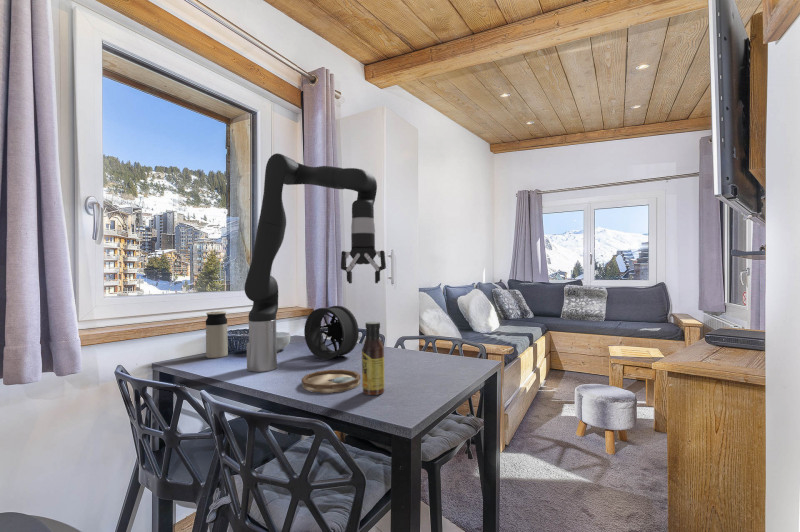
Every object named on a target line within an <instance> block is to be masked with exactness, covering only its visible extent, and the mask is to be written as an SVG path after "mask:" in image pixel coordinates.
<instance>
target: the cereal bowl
mask: <svg viewBox="0 0 800 532" xmlns="http://www.w3.org/2000/svg"><path fill="white" fill-rule="evenodd" d="M276 340H277V352H279V351H281V350H282V349H285V348H286V347H287V346H289V343H290V341H291V333H290V332H285V331H284V332H283V331H276Z"/></svg>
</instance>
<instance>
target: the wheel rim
mask: <svg viewBox="0 0 800 532" xmlns="http://www.w3.org/2000/svg"><path fill="white" fill-rule="evenodd" d="M330 314H331V315H330ZM326 316H328V317H330V318H331V319H330V321H329V323H328V321H327V318H326ZM323 320H324V323H325V324H324V325H322V321H323ZM303 328H304V331H303V334H304V340H305V344H306V346H307V347H308V349H309V351H310V352H311V354H312V355H313V356H315V357H316V358H318V359H319V360H323V359H324V361H325V360H331V359H333V358H335V357H341V356H346V355H347V354H349V353H351V352H352V351H353V350H354V349H355V348H356V345H357V343H358V342H359V341H358V340H359V334H360V331H359V325H358V321H357V319H356V316H354V314H353V313H352V312H351V311H350V310H349V309H348V308H346V307H345V306H341V305H332V306H329V307H328V308H325V307H320V308H316V309H314V310H313V311H312V312H310V314H309V315H308V316H307V318H306V320H305V323H304V327H303ZM322 328H323V329H326V328H327V331H325V330H322ZM322 334H324V335H326V336H325V338H324V340H323V337H322ZM328 338H330V339H329V340H330V341H331V343H329V344H327V345H326V343H327V339H328ZM337 344H338V345H337ZM332 345H333V349H334V350H332V349H330V348H329V346H332ZM337 355H339V356H337Z"/></svg>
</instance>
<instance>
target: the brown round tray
mask: <svg viewBox="0 0 800 532" xmlns="http://www.w3.org/2000/svg"><path fill="white" fill-rule="evenodd" d="M361 378H362V375H361V374H360V373H359V372H357V371H354V370H350V369H349V370H348V369H328V370H327V369H326V370H318V371H315V372H311V373H307V374H305V375H304V376H303V377H302V378H301V384H302V388H303V389H304V390H305V389H306V390H305V391H307V390H308V391H307V392H310V391H312V392H311V393H315V392H320V393H319V394H332V393H333V392H335V393H342V392H346V391H350V390H353V389H355V388H357V387H359V385H360V384H361Z"/></svg>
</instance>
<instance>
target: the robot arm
mask: <svg viewBox="0 0 800 532" xmlns="http://www.w3.org/2000/svg"><path fill="white" fill-rule="evenodd" d="M264 172H265V173H264V183H263V184H264V185H263V193H262V194H263V195H262V201H261V209H260V214H259V219H258V223H257V229H256V234H255V241H254V246H253V252H252V257H251V261H250V262H251V263H250V265H249V269H248V271H247V276H246V279H245V282H244V294H245V296H246V297H247V299H248V300H250V301H251V302H252V308H251V310H250V311H249V312H248V342H247V343H246V371H247V372H248V371H250V372H253V373H254V372H255V373H256V372H257V373H259V372H261V373H262V372H268V371H269V372H270V371H273V370H275V369H277V368H278V359H277V358H278V351H277V340H276V332H277V313H278V311H279V285H278V281H277V280H276V279H275V277H274V276H272V275H271V273H272V268H273V263H274V261H275V259H276V257H277V254H278V253H279V250H280V248H281V247H282V244H283V242H284V239H285V234H286V227H287V215H286V211H285V207H284V203H283V190H284V185H287V186H291V185H297V186H298V185H311V186H312V185H313V186H318V187H323V188H329V189H335V190H351V191H353V192H357V197H356V199H355V200H354V201H353V202H352V204H351V224H350V225H351V227H350V228H351V229H350V230H351V234H350V238H351V239H350V240H351V247H350V248H351V250H350V251H346V250H343V251H341V254H340V256H341V257H340V269H341V270H342V271H345V272H346V282H348V284H352V283H353V272H352V270H353V269H354V268H355V267H356V265H369V264H370V265H371V266H372V267H373V268H374V270H375V272H374V284H378V283H379V282H381V271H383V270H386V269H387V265H386V262H387V261H386V252H385V250H380V251H379V250H378V251H377V250H376V241H375V240H376V227H375V226H376V225H375V218H374V217H375V215H374V214H375V211H374V209H375V208H374V205H375V201H376V196H377V192H378V191H377V189H378V183H377V179H376V177H375V176H374V175H373V174H372V173H370V172H368V171H366V170H364V169H362V168H357V167H353V168H352V167H347V168H344V167H337V166H331V165H320V166H309V165H305V164H301V163H300V162H297V161H296V160H294V159H292V158H290V157H288V156H287V155H284V154H281V153H278V152H277V153H273V154H272V155H271V156H270V157H269V158H268V160H267V163H266V165H265V171H264ZM349 256H350V258H352V260H351V262H350V263H349V265H348V266H347V260H348V259H349ZM376 256H378V258H380V266H379V265H378V264H377V262H376V261H375V257H376Z"/></svg>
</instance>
